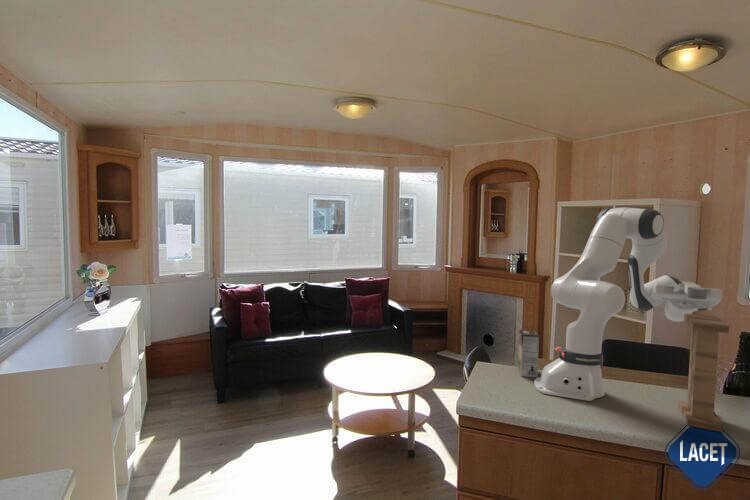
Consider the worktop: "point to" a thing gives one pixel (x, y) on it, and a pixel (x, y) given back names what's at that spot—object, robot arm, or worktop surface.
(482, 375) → the worktop surface
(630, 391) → the worktop surface
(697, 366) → the stand
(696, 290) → the jaw bar
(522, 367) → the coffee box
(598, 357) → the robot arm
